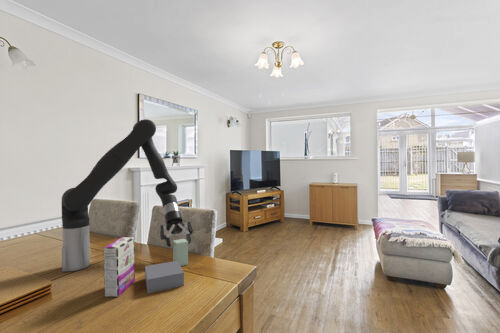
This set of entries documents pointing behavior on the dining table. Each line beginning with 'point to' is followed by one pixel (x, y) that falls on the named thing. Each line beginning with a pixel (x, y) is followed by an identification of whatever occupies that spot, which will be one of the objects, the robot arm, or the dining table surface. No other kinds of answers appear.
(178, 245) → the sage block
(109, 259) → the candy bar box
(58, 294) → the dining table surface
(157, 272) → the base block
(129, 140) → the robot arm
